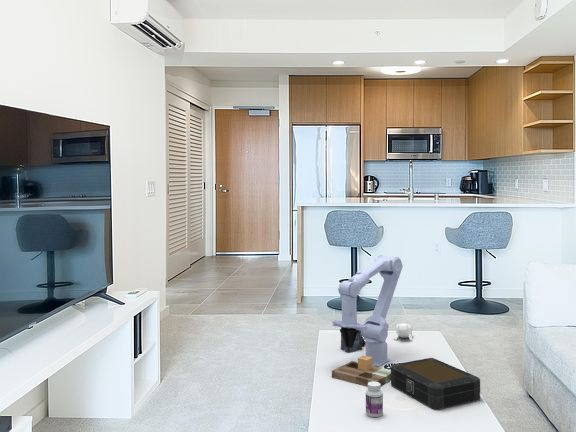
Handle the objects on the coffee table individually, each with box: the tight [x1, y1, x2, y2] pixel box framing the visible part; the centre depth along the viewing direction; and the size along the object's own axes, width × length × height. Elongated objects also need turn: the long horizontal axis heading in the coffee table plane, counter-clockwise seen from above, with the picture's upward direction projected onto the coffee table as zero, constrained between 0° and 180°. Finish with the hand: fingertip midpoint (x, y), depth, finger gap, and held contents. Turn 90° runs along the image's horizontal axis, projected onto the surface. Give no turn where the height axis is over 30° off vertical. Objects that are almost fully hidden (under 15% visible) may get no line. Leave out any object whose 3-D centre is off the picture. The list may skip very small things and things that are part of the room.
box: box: [340, 327, 363, 353], centre depth 228 cm, size 8×6×11 cm
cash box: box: [390, 357, 481, 411], centre depth 179 cm, size 25×20×8 cm
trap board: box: [331, 360, 391, 388], centre depth 194 cm, size 14×19×2 cm
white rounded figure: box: [393, 322, 414, 342], centre depth 243 cm, size 9×8×15 cm
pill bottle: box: [365, 382, 384, 418], centre depth 162 cm, size 5×5×10 cm
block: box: [357, 355, 374, 371], centre depth 197 cm, size 4×4×4 cm
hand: (349, 346), depth 201 cm, fingers closed
